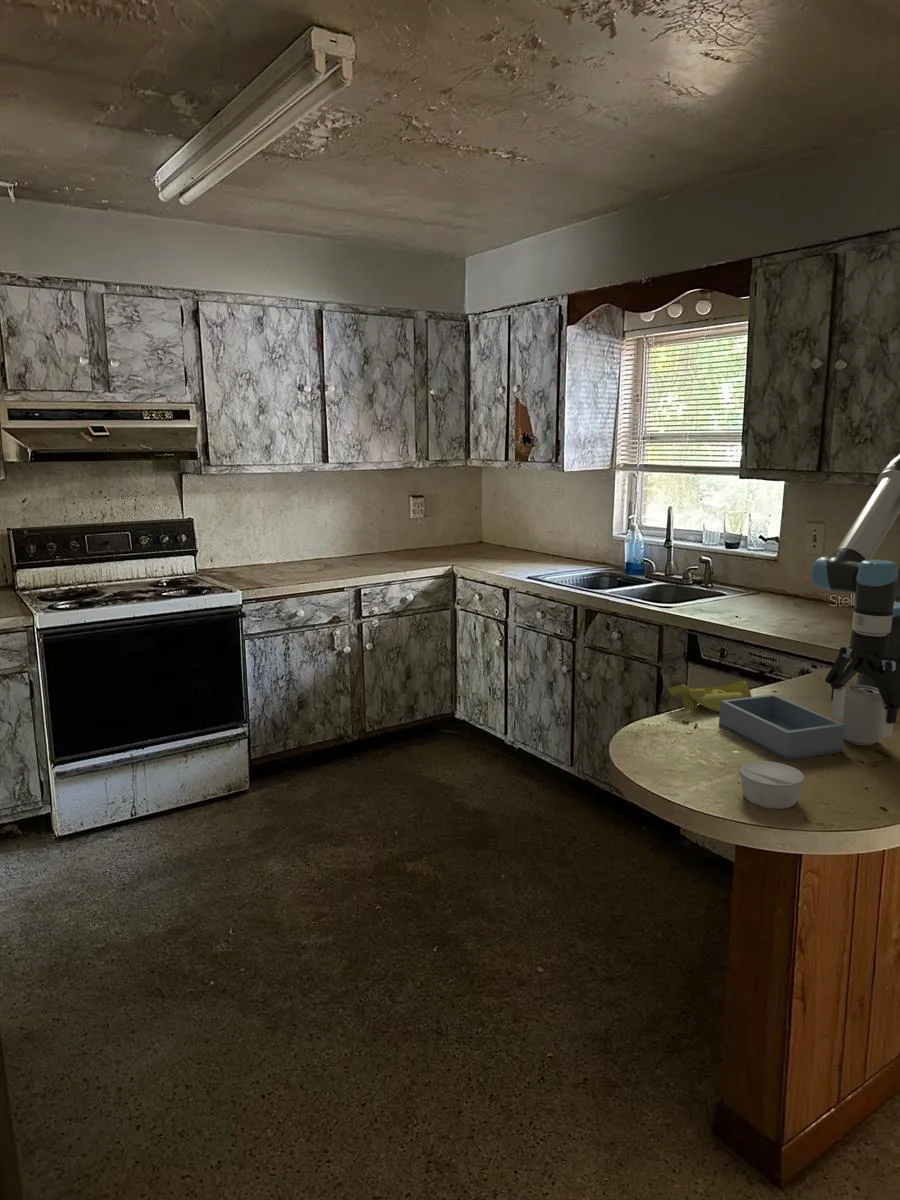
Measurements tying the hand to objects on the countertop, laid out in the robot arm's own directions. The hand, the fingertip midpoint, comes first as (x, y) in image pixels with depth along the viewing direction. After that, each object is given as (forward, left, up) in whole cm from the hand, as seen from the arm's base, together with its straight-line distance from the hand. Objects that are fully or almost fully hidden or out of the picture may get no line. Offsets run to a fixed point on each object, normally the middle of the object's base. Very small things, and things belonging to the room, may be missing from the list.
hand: (860, 726), depth 184 cm
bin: (+16, -7, -3) cm, 18 cm away
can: (0, 0, -4) cm, 4 cm away
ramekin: (+39, +18, -4) cm, 43 cm away
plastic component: (+17, -31, -4) cm, 35 cm away
